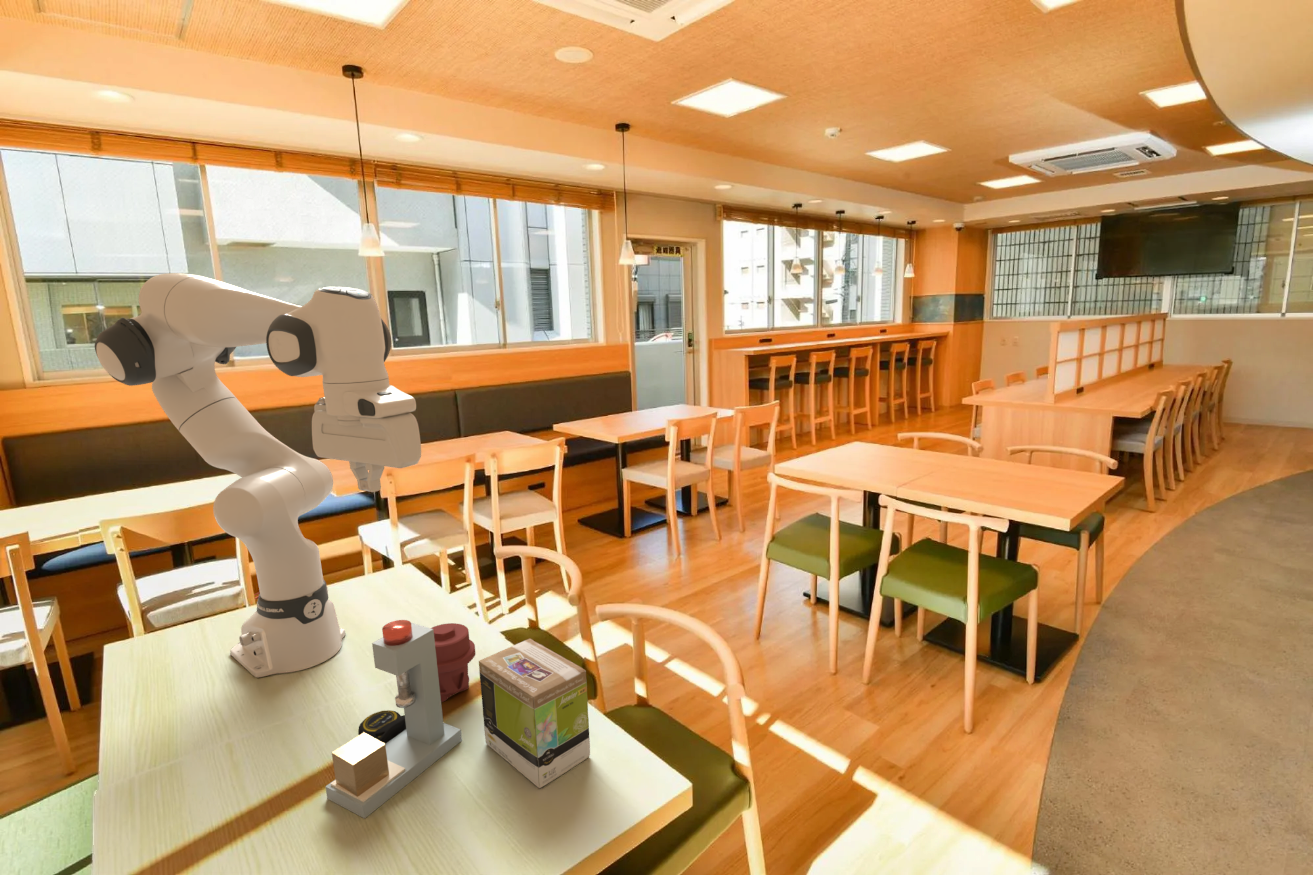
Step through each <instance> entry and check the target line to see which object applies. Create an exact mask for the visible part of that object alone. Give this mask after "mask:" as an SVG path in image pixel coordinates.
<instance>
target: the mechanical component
mask: <svg viewBox="0 0 1313 875" xmlns="http://www.w3.org/2000/svg"><path fill="white" fill-rule="evenodd" d="M430 628H431V629H433V631H434V640H435V650H436V659H437V668H438V678H439V687H440V696H441V703H444V702H446V701H447V700H448V699H449V698H451V697H452V696H454V695H456V694H458V693H460V692H463V691H466V690H468V689H469V688H470V685H469V684H470V683H469V682H470V676H469V663H470V662H471V661H472V660H473V659H474V658H475V656H476V644H475V642H474V641H472V640H471V639H470V630H469V629H468V627H467V626H466V625H464V624H461V623H455V622H454V623H449V622H448V623H442V624H437V625H434V626H432V627H430Z"/></svg>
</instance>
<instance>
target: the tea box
mask: <svg viewBox="0 0 1313 875" xmlns="http://www.w3.org/2000/svg"><path fill="white" fill-rule="evenodd" d="M478 667H479V668H478V669H479V672H478V673H479V679H480V690H481V691H480V693H481V704H482V706H481V707H482V717H483V725H484V726H483V731H484V737H485V738H484V739H485V744H486V745H487V746H488V747H489V748H491V749H492V750H493V751H495V752H496V753H497V754H498V755H499V756H500V757H501V758H503V759H504V760H505V761H506V762H508V763H509V764H510V765H511V766H512V767H513V768H515V770H517V771H518V772H519V773H520V774H522V775H523V776H524V777H525V778H527V779H528V780H529V781H530V782H531V783H532V784H534V786H536V787H537V788H539V789H541V788H543V787H544V786H546V785H548V784H550V783H551V782H553V781H554V780H556V779H558V778H559V777H561V776H563V775H564V774H565V773H566V772H568V771H570V770H572V769H573V768H575V767H576V766H578V765H580V763H582V762H584V761H585V760H586V759H588V758H590V755H591V743H590V742H591V740H590V724H589V722H590V720H589V703H588V702H589V700H588V683H587V682H588V680H587V670H586V669H584V668H583V667H582V666H580V665H578V664H576V663H574V662H572V661H571V660H569V659H567V658H565V657H564V656H562V655H560V654H558V653H556V652H554V651H553V650H551V649H549V648H547V647H546V646H544V645H543V644H541V643H539V642H537V641H534V639H532V638H527V639H525V640H523V641H521V642H517V643H516V644H513V645H511V646H510V647H507V648H505V649H503V650H500V651H498V652H496V653H493V654H492V655H489V656H487V657H484V658H482V659H480V660H478Z"/></svg>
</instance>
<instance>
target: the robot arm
mask: <svg viewBox="0 0 1313 875" xmlns="http://www.w3.org/2000/svg"><path fill="white" fill-rule="evenodd" d="M374 297H375V296H373V294H372V293H370V292H368V291H367V290H365V289H361V288H357V287H352V286H351V287H348V286H347V287H346V286H337V285H335V286H334V285H331V286H322V287H319V288H317V289H316V290H315V291H314V292H313V294H312V298H311V299H310V300H309V301H308V302H306V303H305V304H304V305H301V304H298V303H297V304H296V303H293V302H287V301H283V300H281V299H279V298H278V299H277V298H274V297H271V296H268V295H265V294H261V293H257V292H254V291H251V290H248V289H245V288H242V287H239V286H236V285H233V284H230V283H227V282H224V281H220V280H217V279H214V278H210V277H207V276H203V275H198V274H192V273H183V272H172V273H171V272H170V273H168V272H167V273H160V274H157V275H154V276H152V277H150V278H148V279H147V280H146V281H145V282H144V283H143V284H142V286H141V288H140V290H139V293H138V305H139V308H140V310H141V313H140V314H139V315H137V316H133V317H130V318H127V319H126V318H124V317H121V318H119V319H118V320H117V321H116V322H115V323H113V324H111V325H110V326H108V327H107V328H106V329H104V330H103V331H101V332H100V333H99V334H98V335H97V337H96V339H95V342H94V350H95V351H94V352H95V354H96V356H97V359H98V362H99V363H100V365H101V367H102V368H103V369H104V370H105V371H106V373H107V374H108V375H109V376H110V377H112V379H114V380H115V381H117V382H119V383H121V384H124V385H126V386H129V387H130V386H131V387H133V386H141V385H142V386H143V385H146V384H150V383H151V389H152V390H151V391H152V394H153V395H154V397H155V399H156V401H157V402H158V404H159V406H160V408H161V409H162V410H163V411H164V414H165V415H166V416H167V418H168V419H169V420H170V422H171V424H173V426H174V427H175V428H176V430H178V432H179V433H180V434H181V435H182V437H184V438H185V440H186V441H187V443H189V444H190V445H191V447H192V448H193V449H194V450H195V451H196V453H198V454H199V455H200V457H201V458H202V459H203V461H205V462H206V464H208V465H209V466H212V467H214V468H217V469H221V470H226V471H229V472H231V473H233V474H235V475H237V476H239V477H240V478H238V479H236V480H235V481H234V482H233V483H230V484H229V485H228V486H227V487H226V488H224V489H223V490H221V491H220V492H219V493H218V494H217V496H216V497H215V499H214V501H213V509H212V510H213V517H214V518H215V521H216V523H217V525H218V526H219V527H220V529H222V530H223V531H224V532H225V533H226V534H228V535H230V536H232V537H234V538H237V539H239V540H240V541H241V542H242V544H244V545H245V548H247V550H248V552H249V554H250V556H251V558H252V561H253V565H254V570H255V573H256V578H257V584H258V588H259V589H258V590H259V591H258V592H256V593H254V596H255V597H254V600H257V601H256V611H255V612H254V613H253V614H251V616H250V617H249V618H247V619H246V620H245V621H244V622H243V623H242V626H241V627H240V629H241V631H240V632H241V635H239V640H238V641H239V642H237V643H236V644H235V645H234V646H233V647H232V648H230V649H229V654H230V656H232V658H234V660H236V662H238V663H239V664H240V665H242V667H243V668H245V669H246V671H247V672H249V673H250V674H251V675H252V676H254V677H255V678H262V677H266V676H271V675H275V674H276V675H277V674H283V673H294V672H298V671H302V670H306V669H308V668H313V667H314V666H317V665H321V663H324V662H325V661H328V660H329V659H331V658H332V657H334V656H335V655H336V654H337V653H338V652H339V651H340V649H341V647H342V645H343V644H342V640H343V639H344V637H346V636H345V635H346V630H345V628H342V627H340V624H339V621H338V620H339V619H338V617H337V616H338V615H337V612H336V608H335V604H334V602H333V601H332V600H330V599H329V589H328V586H327V582H326V580H325V579H324V576H323V569H322V563H321V555H320V554H321V553H320V548H319V546H318V545H317V544H316V543H315V542H314V541H313V540H311V539H308V538H305V537H304V535H303V533H302V530H301V529H300V527H299V521H298V520H299V517H301V516H302V515H304V514H307V513H308V512H310V511H313V510H314V509H316V508H317V507H318V506H319V505H321V504H322V503H323V502H324V501H325V500H326V499H327V498H328V497H329V496H330V494H331V492H332V491H333V487H334V477H333V475H332V472H331V470H330V469H329V467H328V466H327V465H326V464H325V463H324V462H322V461H320V459H317V458H322V459H323V458H324V459H330V460H338V461H345V462H349V469H350V471H351V472H352V474H353V476H354V477H355V478H356V481H357V482H356V483H357V489H358V490H359V491H364V492H365V491H366V492H369V493H370V492H371V493H376V492H378V491H381V489H382V486H381V479H382V475H383V472H384V470H385V467H388V468H395V469H404V468H407V467H412V466H415V465H417V464H419V462H420V459H421V457H422V445H421V444H422V443H421V435H420V434H421V433H420V428H419V423H418V421H417V418H416V416H415V415H414V414H413V413H412V412H416V409H417V402H416V399H415V397H414V396H412V395H410V394H408V393H406V392H404V391H402V390H400V389H398V388H397V387H395V386H394V385H393V384H392V385H391V384H390V379H389V373H388V370H387V369H386V366H385V362H386V360H387V359H388V357H389V355H390V352H391V348H392V336H391V332H390V329H389V328H388V326H387V324H386V323H385V321H384V320H383V319H382V318H381V313H380V310H379V306H378V304H377V301H376V298H374ZM264 344H266V349H267V353H268V356H269V358H270V360H271V362H272V363H273V365H274V366H275V367H276V368H277V369H278V370H279V371H281V372H282V373H283V374H285V375H287V376H290V377H298V378H306V377H316V376H322V388H323V394H324V395H323V397H319V399H318V400H317V401H316V403H315V404H314V407H313V408H314V412H313V414H312V417H311V438H312V449H313V451H314V453H315V455H316V456H317V458H313V457H309V456H306V455H304V454H301V453H299V452H297V451H296V450H295V449H293V448H291V447H290V446H288V445H286V444H285V443H283V442H282V441H280V440H279V439H277V438H276V437H274V435H273V434H271V433H270V432H269V431H267V430H266V429H265V428H264V427H263V426H262V425H261V424H260V423H259V422H258V420H257V419H256V418H255V417H254V416H253V415H252V414H251V413H250V411H248V409H247V408H246V406H244V405H243V404H242V402H241V401H240V400H239V399H238V398H237V397H236V396H235V394H234V393H233V392H232V391H231V390H230V389H229V388H228V387H227V386H226V385H225V384H224V383H223V381H221V379H220V378H219V377H218V375H217V372H216V368H215V366H216V365H215V363H217V364H220V365H226V364H228V363H229V362H230V359H231V355H232V353H233V352H234V351H235V350H236V349H237V347H239V348H240V347H246V346H248V347H249V346H254V345H264ZM256 595H258V596H256Z"/></svg>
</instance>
